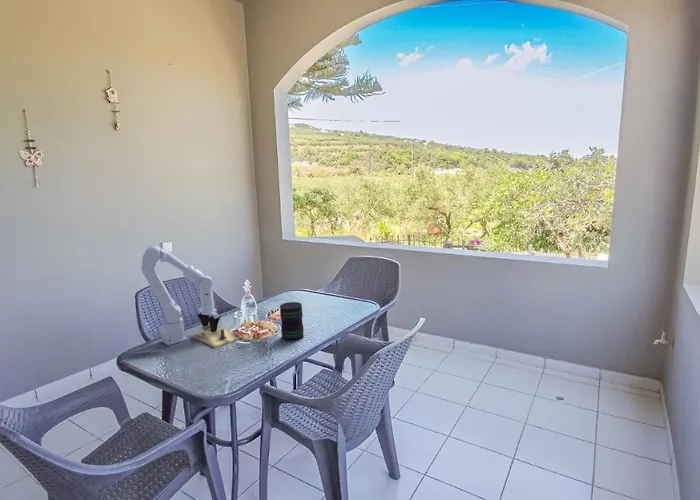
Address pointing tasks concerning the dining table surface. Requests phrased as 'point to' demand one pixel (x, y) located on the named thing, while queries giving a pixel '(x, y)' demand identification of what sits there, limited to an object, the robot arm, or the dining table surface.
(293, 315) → the storage jar
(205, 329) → the grey tin box
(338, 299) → the dining table surface
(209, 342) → the board
